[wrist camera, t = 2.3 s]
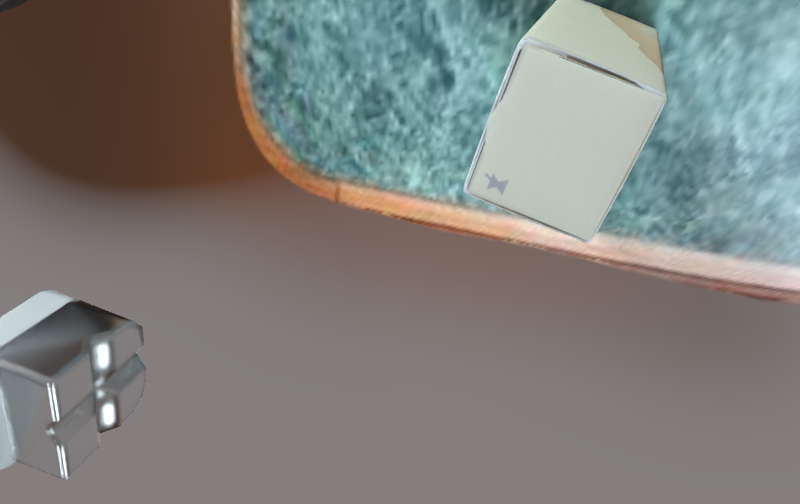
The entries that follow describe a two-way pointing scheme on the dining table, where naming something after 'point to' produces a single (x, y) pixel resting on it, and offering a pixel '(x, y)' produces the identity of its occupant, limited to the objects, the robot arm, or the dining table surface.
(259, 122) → the dining table surface
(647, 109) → the box
